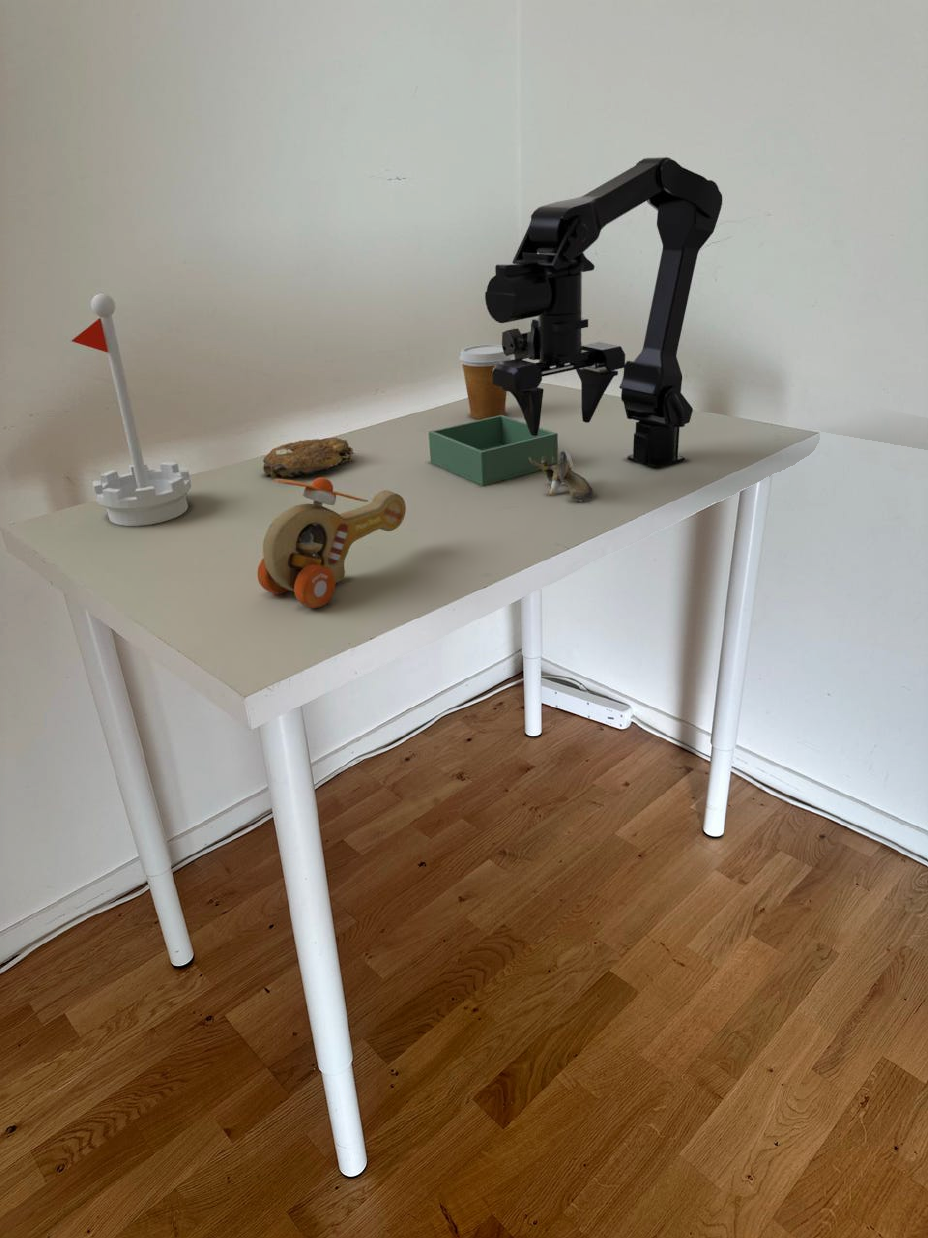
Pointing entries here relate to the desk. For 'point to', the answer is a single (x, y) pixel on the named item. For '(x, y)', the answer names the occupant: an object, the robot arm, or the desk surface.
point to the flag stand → (132, 446)
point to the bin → (491, 449)
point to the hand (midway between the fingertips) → (560, 428)
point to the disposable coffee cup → (483, 380)
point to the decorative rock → (306, 457)
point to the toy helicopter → (320, 541)
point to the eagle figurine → (565, 477)
